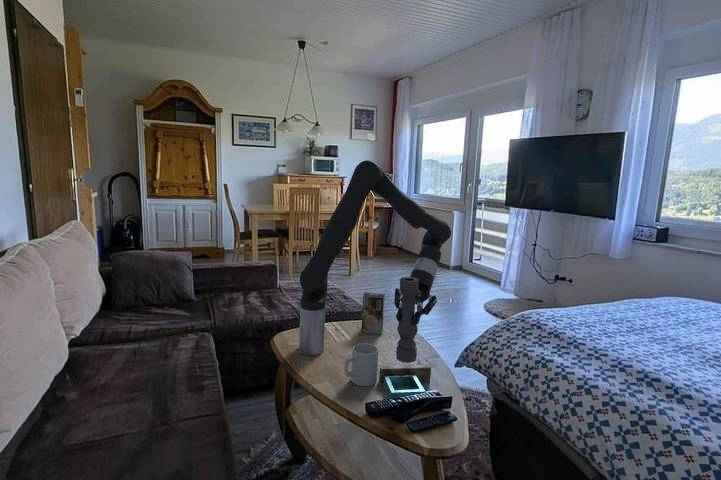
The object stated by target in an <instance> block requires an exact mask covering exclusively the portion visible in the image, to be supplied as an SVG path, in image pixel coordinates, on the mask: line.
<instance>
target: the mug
mask: <svg viewBox="0 0 721 480" xmlns="http://www.w3.org/2000/svg"><path fill="white" fill-rule="evenodd" d="M350 363H351V371H349V364H350ZM378 364H379V348H378V347H377V346H376V345H374V344H372V343H364V342H363V343H358V344H355V345H353V347H352V355H350V356H349V357H347V358H346V359H345V361H344V367H343V368H344V374H345V376H346V377H347V378H350V379H351V382H352V383H353V384H354V385H357V386H360V387H370V386H373V385H375V384H376V383H377V381H378V380H377V379H378Z"/></svg>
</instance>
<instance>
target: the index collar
mask: <svg viewBox="0 0 721 480" xmlns="http://www.w3.org/2000/svg"><path fill="white" fill-rule="evenodd" d="M421 383H422V382H419V380H418V378H417V377H416V375H415V374H403V375H384V381H383V384H382V386H383V389H384V390H385V392H386V395H387V398H388V400H389V399H395V398H400V397H405V396H409V395H415V394H421V393H425V394H426V390H425V389H424V387H423V385H422V384H421ZM396 387H399V388H400V387H412V389H399V390H397V389H395V388H396Z"/></svg>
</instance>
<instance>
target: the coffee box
mask: <svg viewBox="0 0 721 480" xmlns="http://www.w3.org/2000/svg"><path fill="white" fill-rule="evenodd" d="M385 299H386V297H385V294H384V293H377V292H375V293H374V292H364V293H363V296H362V309H361V328H360V329H361V330H360V332H361V333H366V334H376V335H383V331H384V317H385V313H384V312H385Z"/></svg>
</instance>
